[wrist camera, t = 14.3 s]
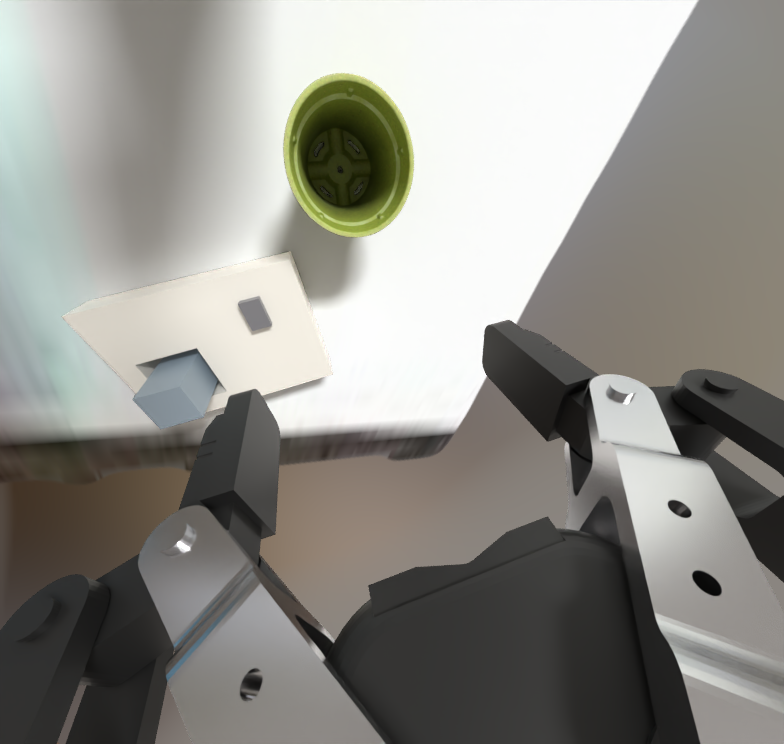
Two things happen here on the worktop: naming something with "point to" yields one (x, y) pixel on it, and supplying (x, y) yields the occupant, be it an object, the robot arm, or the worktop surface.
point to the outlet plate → (213, 328)
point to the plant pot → (348, 155)
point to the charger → (177, 389)
